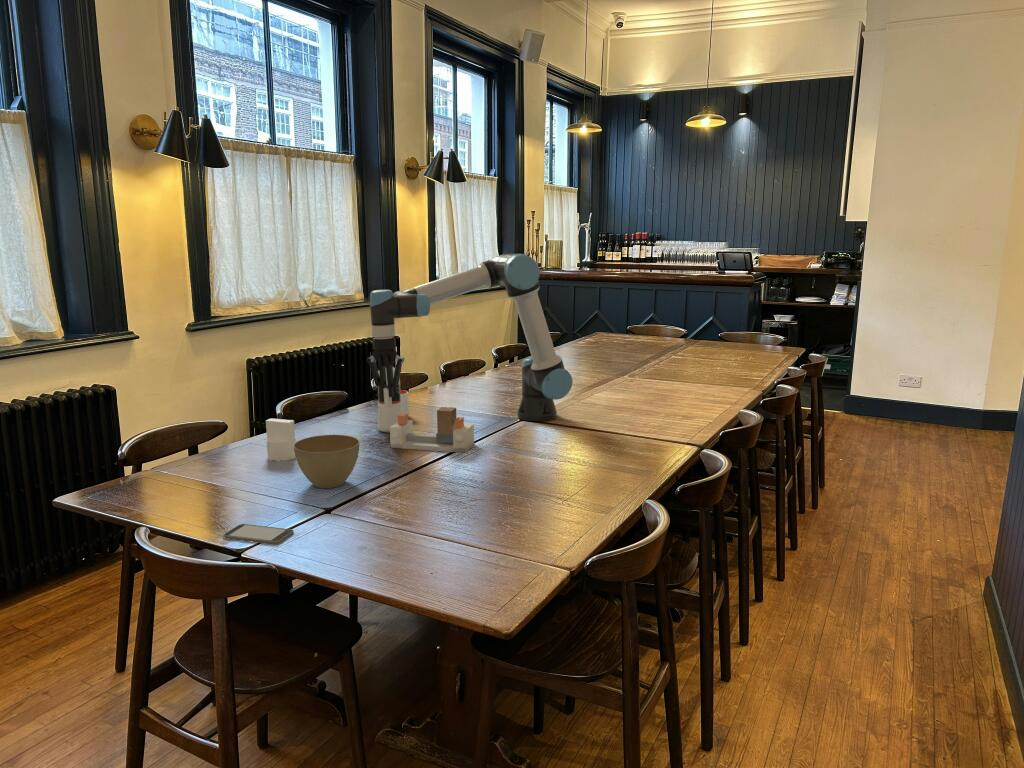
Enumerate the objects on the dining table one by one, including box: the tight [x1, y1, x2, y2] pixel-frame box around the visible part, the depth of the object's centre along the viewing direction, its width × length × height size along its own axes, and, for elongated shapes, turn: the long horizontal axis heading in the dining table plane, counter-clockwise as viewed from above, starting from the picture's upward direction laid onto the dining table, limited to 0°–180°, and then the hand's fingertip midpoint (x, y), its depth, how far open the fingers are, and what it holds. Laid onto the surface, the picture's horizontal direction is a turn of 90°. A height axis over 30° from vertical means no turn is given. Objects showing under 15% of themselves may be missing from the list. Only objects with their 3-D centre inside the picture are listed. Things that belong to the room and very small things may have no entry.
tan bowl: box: [294, 434, 361, 489], centre depth 208 cm, size 18×18×12 cm
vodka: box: [377, 366, 401, 434], centre depth 263 cm, size 9×9×30 cm
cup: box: [400, 389, 410, 417], centre depth 283 cm, size 10×10×10 cm
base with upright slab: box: [265, 418, 297, 462], centre depth 234 cm, size 9×9×12 cm
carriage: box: [435, 406, 457, 443], centre depth 243 cm, size 6×5×11 cm
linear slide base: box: [389, 416, 475, 453], centre depth 245 cm, size 26×10×10 cm, turn 76°
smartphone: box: [222, 523, 295, 546], centre depth 174 cm, size 7×1×15 cm
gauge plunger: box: [398, 413, 409, 425], centre depth 246 cm, size 2×4×3 cm, turn 166°
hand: (388, 406), depth 247 cm, fingers closed
